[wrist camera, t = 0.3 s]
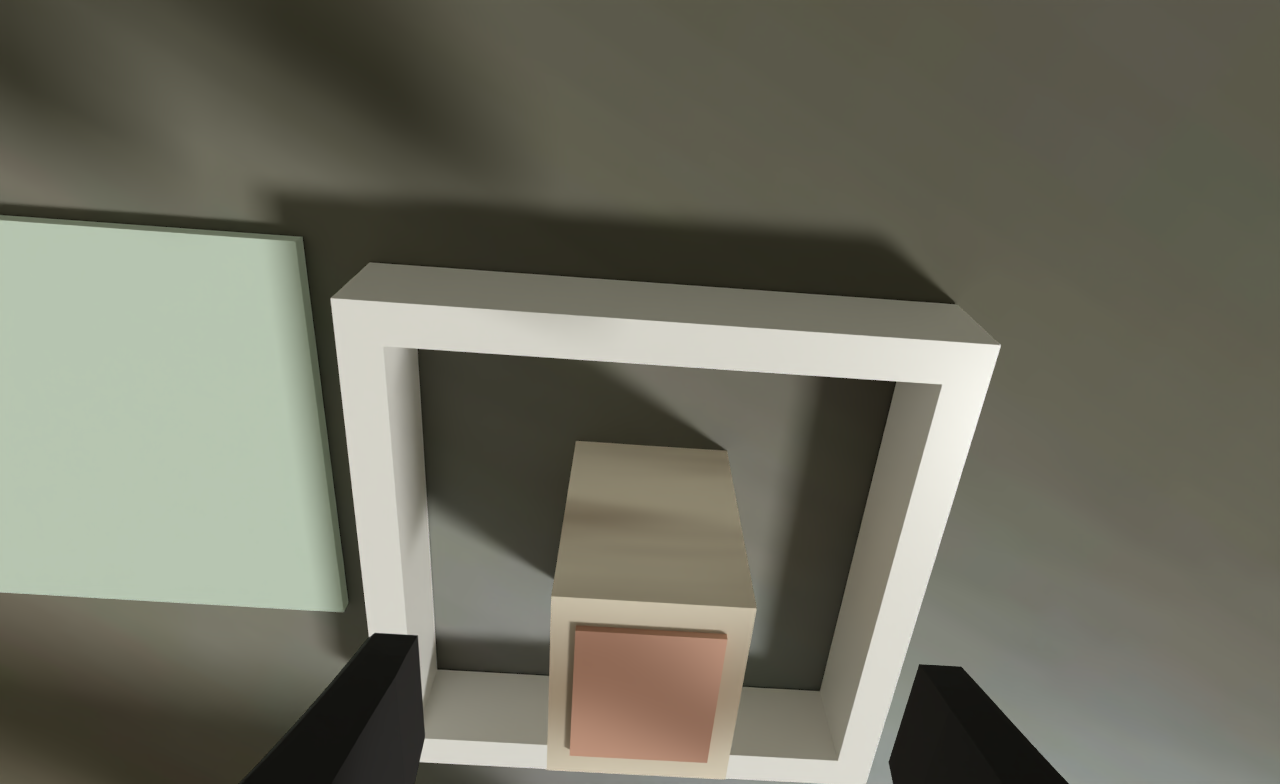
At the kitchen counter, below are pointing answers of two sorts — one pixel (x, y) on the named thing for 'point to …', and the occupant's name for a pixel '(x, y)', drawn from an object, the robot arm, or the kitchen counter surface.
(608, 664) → the birch block
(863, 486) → the kitchen counter surface
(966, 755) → the robot arm
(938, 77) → the kitchen counter surface
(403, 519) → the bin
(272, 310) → the pad
